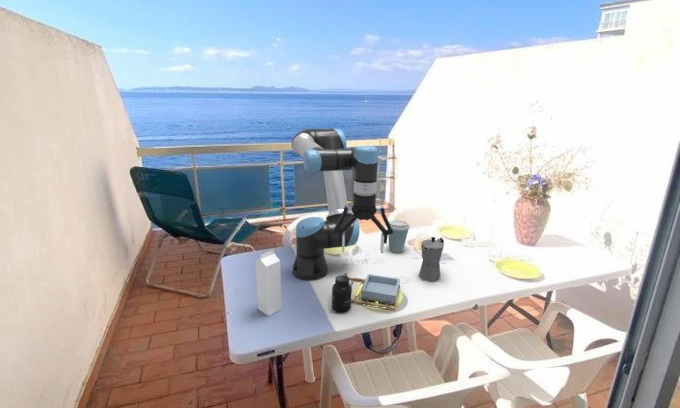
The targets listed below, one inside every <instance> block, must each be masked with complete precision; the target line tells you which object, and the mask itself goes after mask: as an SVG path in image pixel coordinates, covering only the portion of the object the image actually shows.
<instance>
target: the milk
mask: <svg viewBox="0 0 680 408" xmlns="http://www.w3.org/2000/svg"><path fill="white" fill-rule="evenodd" d="M254 267H255V278H256V279H255V281H256V282H255V283H256V296H257V297H256V298H257V310H258V309H259V310H258V311H260V312H261V311H262V313H263V314H265V315H266V314H267V315H266V316H268V317H269V316H271V315H274V313H277V312H279V311H280V310H282V308H283V303H282V302H283V301H282V297H283V296H282V280H281V279H282V276H281V260H280V259H279V258H278V256H277V255H276V254H275V250H274V249H272V250H269V251H266V252H265V253H262V254H260V255H259V259H258V260H255V262H254Z"/></svg>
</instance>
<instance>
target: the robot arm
mask: <svg viewBox="0 0 680 408" xmlns="http://www.w3.org/2000/svg"><path fill="white" fill-rule="evenodd" d="M347 143H348V142H347V139H346V135H345V132H344V131H343V130H342V129H340V128H333V127H331V128H306V129H302V130H300V131H299V132H297V133H296V134H295V135H294V136H293V137H292V139H291V148H292V151H293V152H294V153H295V155H297V156H300V157H302V158H303V159H302V161H303V167H304V170H305V171H306V172H307V173H310V172H311V173H317V172H322V173H323V178H324V179H323V180H324V186H325V193H326V200H327V201H326V202H327V208H328V214H327V215H326V217H325V219H326V220H324V218H322V217H320V216H318V217H317V216H312V217H311V216H310V217H306V218H303V219H301V220H300V221H298V222H297V224H296V226H295V242H296V243H295V245H296V246H295V247H296V252H295V253H296V256H295V258H294V261H293V265H292V274H293V276H294V275H295V278H297V279H300V280H305V281H315V280H319V279H322V278H324V277H325V276H327V275H328V273H329V265H328V262H327V259H326V256H325V250H326V249H334V248H341V251H342V253H345V248H347V247H351V246H354V245H356V244H357V243H358V241H359V237H360V222H359V221H363V220H365V221H369V220H371V221H372V222H373V223H374V224H375V226H376V227H377V229H379V230H380V231H381V234H380V236H381V237H380V248H379V249H380V253H381V254H384V245H386V244H387V243H388V234H392V233H393V230H392V228H391V226H390V224H389V222H390V221H389V219H388V217H387V215H386V212H385V206H384V205H381V206H380V207H377V206H376V203H377V202H376V199H377V194H376V193H377V179H378V178H377V177H378V165H379V151H378V148H377V147H376V146H371V145H359V146H356V147H355V146H350V147H347ZM344 171H353V192H354V193H353V203H352V204H353V205H352V206H349V204H348V199H347V191H346V184H345V179H344V177H345V176H344ZM377 212H378V214H379V215H381V218H382V220H383V222H384V223H385V226H386V228H387V229H386V228H385V227H384V226H383V224H382V223H381V222H380V220H379V219H378V218H377V217H376V213H377Z"/></svg>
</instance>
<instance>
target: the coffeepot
mask: <svg viewBox="0 0 680 408" xmlns="http://www.w3.org/2000/svg"><path fill="white" fill-rule="evenodd" d="M444 243H445V240H444V238H443V237H440V238H437V239H436V237H435V236H431V239H424V240H422V242H421V257H422V262H421V266H420V270H419V273H418V277H419V278H420V279H421V280H423V281H426V282H431V283H434V282H438V281H440V280H441V265H440V261H441V258H442V255H443V250H444V247H445V244H444Z"/></svg>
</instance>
